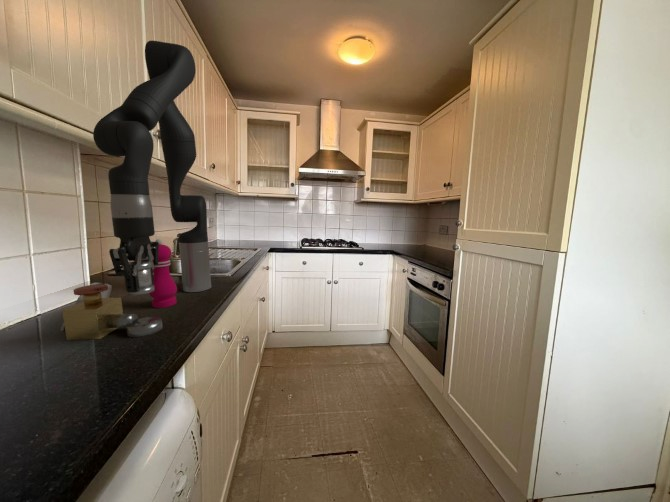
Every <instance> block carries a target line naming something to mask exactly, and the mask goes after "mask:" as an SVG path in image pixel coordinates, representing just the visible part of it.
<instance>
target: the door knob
mask: <svg viewBox="0 0 670 502" xmlns="http://www.w3.org/2000/svg"><path fill="white" fill-rule="evenodd" d="M151 267H152V261H141V264H140V265H139V266H138V269H137V275H136V276H137V277H138V286H139V291H137V292H134V293H129V292H127V296H142V295H147V294H149V293H151V292H153V291H155V289H154V285H153V284H152V280H151V270H150V268H151ZM130 269H131V270H132V265H130Z"/></svg>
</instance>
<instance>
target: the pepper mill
mask: <svg viewBox="0 0 670 502" xmlns="http://www.w3.org/2000/svg"><path fill="white" fill-rule="evenodd" d="M154 242H158V243H159V254H158V265H155V266H154V269H153V279H154V284H153V285H154V289H155V291H153V292H151V293H148V294H149V297H151V298H152V300H151V304H152V308H154V309H155V308H156V309H163V308H168V307H172V306H174V305H176V304H177V296H175V295H176V294H177V292H178V287H177V285H176V282H175V281H174V279H173V277H172V276H171V273H170V265H171V260H170V258H171V257H172V250H171V248H170V247H169V246H168V245H165V244H163V241H162V239H160V238H158V239H156V240H155V241H154ZM152 251H153V250H152ZM153 258H154V256H153ZM152 261H154V259H153V260H152Z"/></svg>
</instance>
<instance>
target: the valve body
mask: <svg viewBox="0 0 670 502" xmlns="http://www.w3.org/2000/svg"><path fill="white" fill-rule="evenodd" d="M106 284H107V283H102V284H96V285H90V284H89V285H84V286H79V287H76V288H74V289H73V295H75V296H80V295H83V300H84V301H83V302H81V303H78V304H76V303H75V304H76V305H75V304H74V305H73V304H72V306H68V307H66V308H64V309H61V312H62V319H63V323H64V325H65V329H64V330H65V336H66V341H71V340H72V341H74V340H81V341H82V340H101V339H103V338H104V337H106V336H107V335H109V334H110V333H112V332H114V331H115V330H117V329H126V335H127V336H128V337H131V338H140V337H147V336H151V335H154V334H156V333H157V332H160V331H161V330H162V329H163V321H162V318H161V317H160V316H146V317H141V318H139V317H138V315H137V314H136V313H123V312H124V310H123V309H124V308H123V303H122V297H109V298H102V296H101V292H104V291H106V290H108V285H106Z"/></svg>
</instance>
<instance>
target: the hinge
mask: <svg viewBox="0 0 670 502" xmlns="http://www.w3.org/2000/svg"><path fill="white" fill-rule="evenodd" d="M96 284H103V283H102V282H92V283H90V284H89V285H96ZM105 284H106V285H108V290H106V291H104V292H101V296H102V298H110V295H111V292H112V288H113V286H112V284H108V283H105ZM83 301H84V300H83V295H78V298H77V299H76V302H75V304H74V305H76V304H78V303H81V302H83ZM64 330H65V325H64V322H63V323H62V325H61V328H60V330H59V331H60V332H63V331H64Z"/></svg>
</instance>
